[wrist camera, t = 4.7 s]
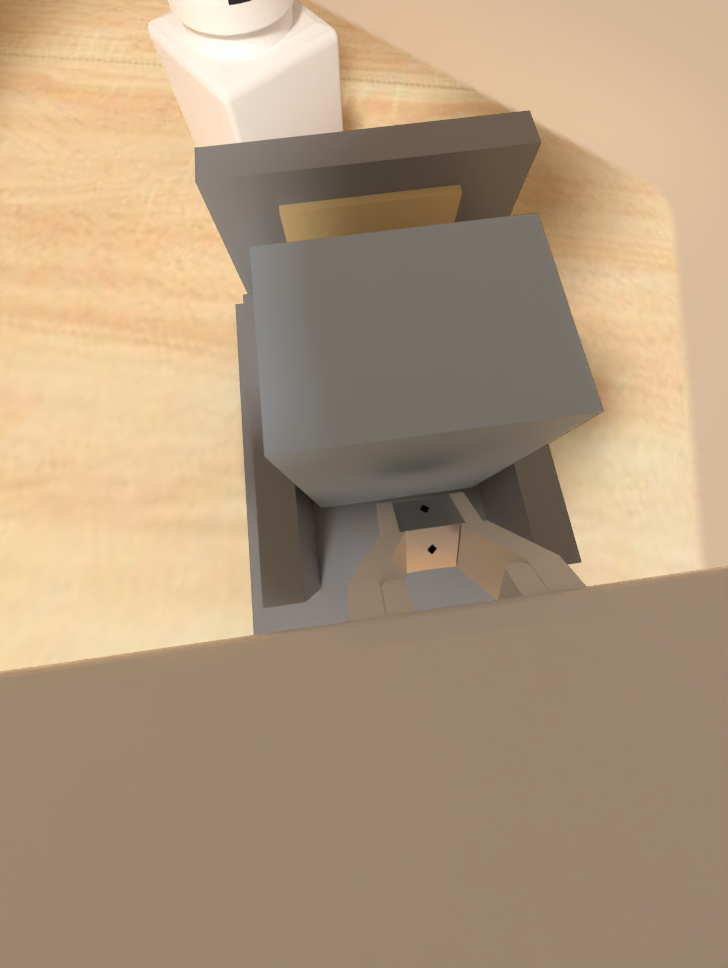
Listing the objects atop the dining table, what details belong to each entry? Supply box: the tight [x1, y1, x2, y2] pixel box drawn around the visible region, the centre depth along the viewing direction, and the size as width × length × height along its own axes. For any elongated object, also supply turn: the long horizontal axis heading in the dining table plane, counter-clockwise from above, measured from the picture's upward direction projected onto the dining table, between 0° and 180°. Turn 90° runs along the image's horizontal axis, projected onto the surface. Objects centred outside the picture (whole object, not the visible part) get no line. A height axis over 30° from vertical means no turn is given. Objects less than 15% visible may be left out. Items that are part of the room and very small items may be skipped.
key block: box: [250, 213, 603, 508], centre depth 12 cm, size 6×8×9 cm
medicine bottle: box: [148, 0, 343, 147], centre depth 16 cm, size 7×7×12 cm
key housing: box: [195, 111, 581, 635], centre depth 13 cm, size 24×16×9 cm, turn 8°
